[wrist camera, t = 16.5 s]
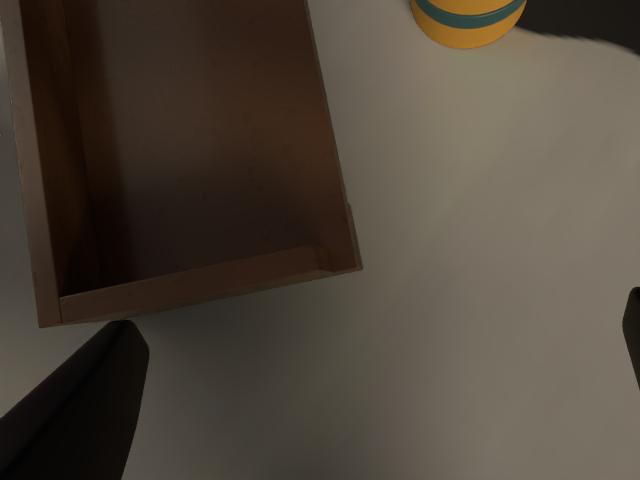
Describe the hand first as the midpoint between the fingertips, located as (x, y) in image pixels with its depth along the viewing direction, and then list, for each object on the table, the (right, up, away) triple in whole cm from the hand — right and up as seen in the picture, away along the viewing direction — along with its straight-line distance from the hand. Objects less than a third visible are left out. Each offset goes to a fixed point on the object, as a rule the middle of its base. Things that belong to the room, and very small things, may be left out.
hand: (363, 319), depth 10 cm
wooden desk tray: (-7, +10, +16) cm, 20 cm away
